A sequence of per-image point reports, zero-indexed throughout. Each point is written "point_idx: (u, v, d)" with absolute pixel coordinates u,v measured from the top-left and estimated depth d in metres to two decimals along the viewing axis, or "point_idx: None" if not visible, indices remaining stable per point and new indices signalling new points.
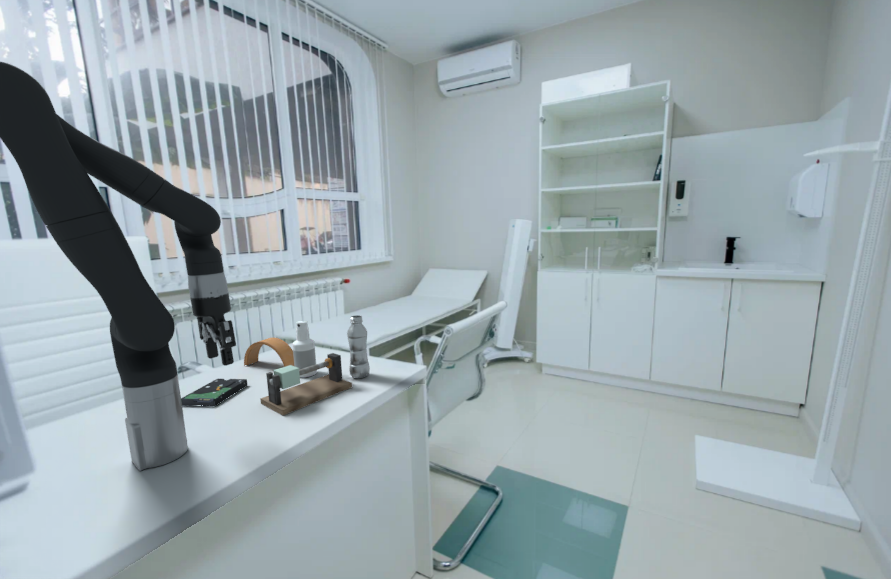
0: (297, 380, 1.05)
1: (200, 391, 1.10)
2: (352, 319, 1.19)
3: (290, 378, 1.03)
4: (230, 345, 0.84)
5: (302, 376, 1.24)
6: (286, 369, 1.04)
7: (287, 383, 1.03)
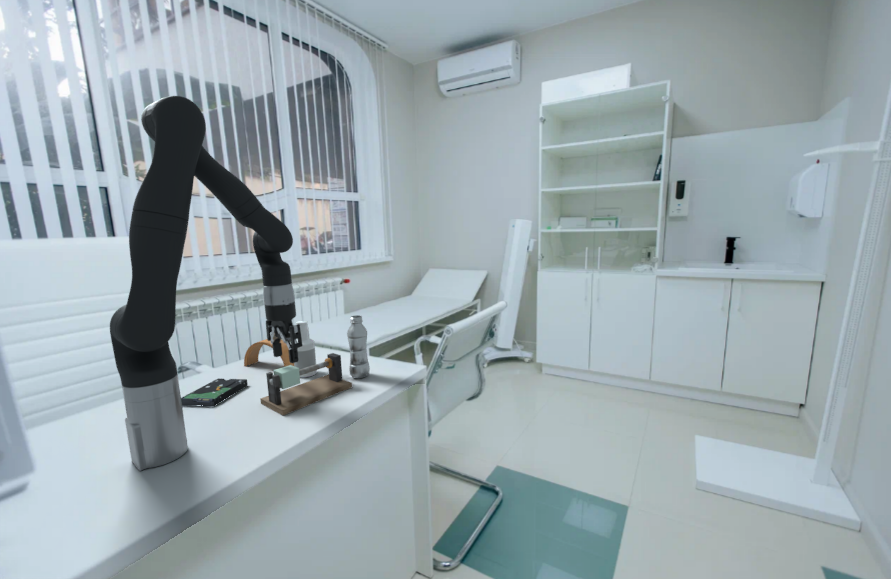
0: (297, 380, 1.05)
1: (200, 391, 1.10)
2: (352, 319, 1.19)
3: (290, 378, 1.03)
4: (298, 346, 0.99)
5: (302, 376, 1.24)
6: (286, 369, 1.04)
7: (287, 383, 1.03)
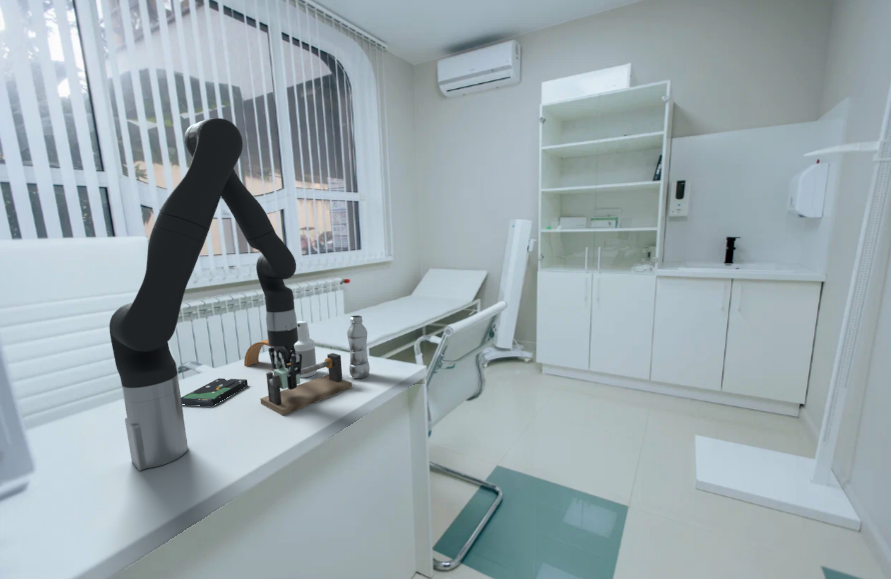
0: (297, 380, 1.05)
1: (200, 391, 1.11)
2: (352, 319, 1.19)
3: None
4: (296, 373, 1.01)
5: (302, 376, 1.24)
6: None
7: (287, 383, 1.03)
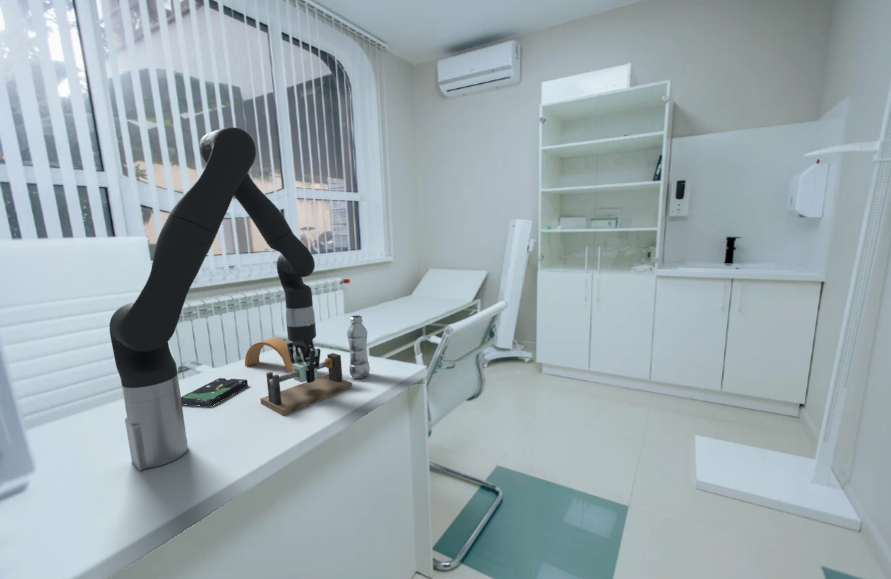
0: None
1: (200, 390, 1.11)
2: (352, 319, 1.19)
3: None
4: (315, 367, 1.05)
5: None
6: None
7: None
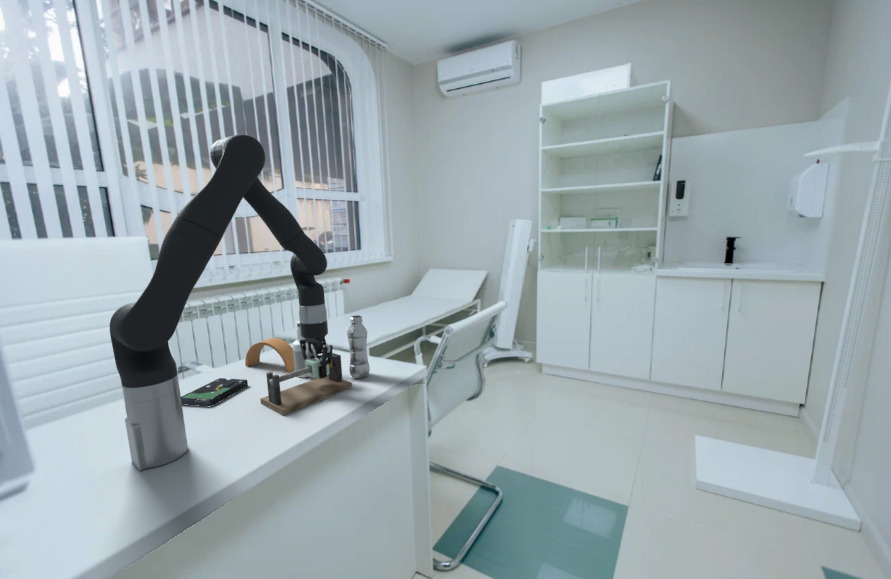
0: None
1: (199, 390, 1.11)
2: (352, 319, 1.19)
3: None
4: (327, 363, 1.08)
5: (302, 376, 1.24)
6: (316, 360, 1.11)
7: (318, 372, 1.10)
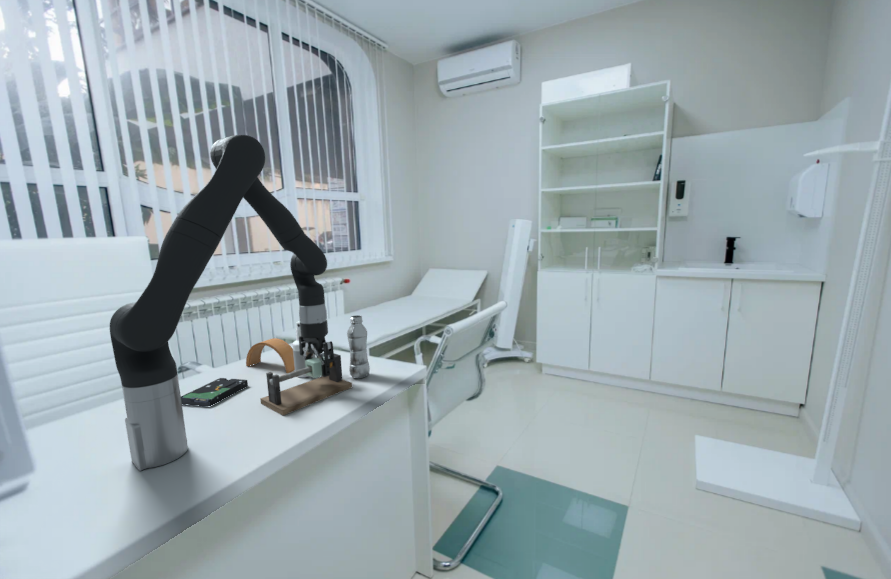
0: None
1: (199, 390, 1.11)
2: (352, 319, 1.19)
3: (321, 368, 1.11)
4: (330, 361, 1.07)
5: (302, 376, 1.24)
6: (316, 360, 1.11)
7: (318, 372, 1.10)
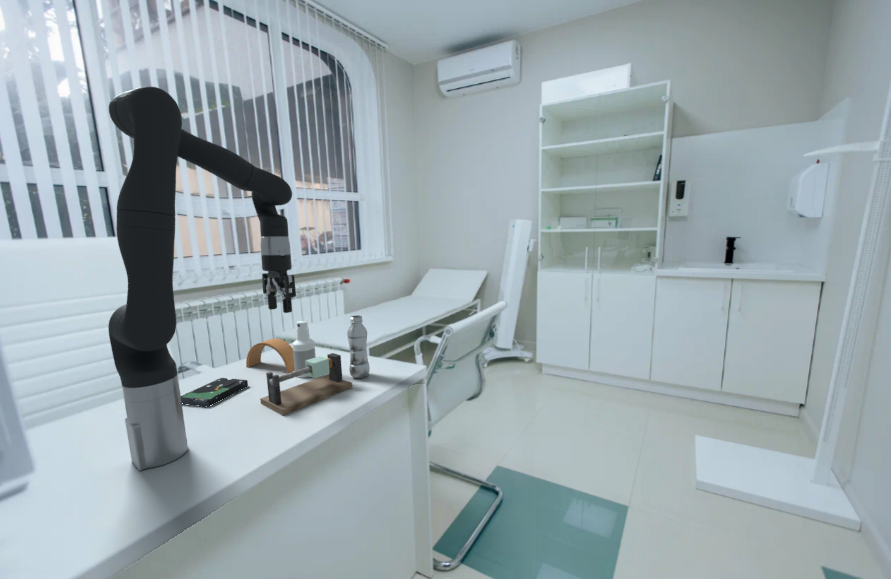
0: (326, 370, 1.12)
1: (199, 390, 1.11)
2: (352, 319, 1.19)
3: (321, 368, 1.11)
4: (291, 295, 1.02)
5: (302, 376, 1.24)
6: (316, 360, 1.11)
7: (318, 372, 1.10)
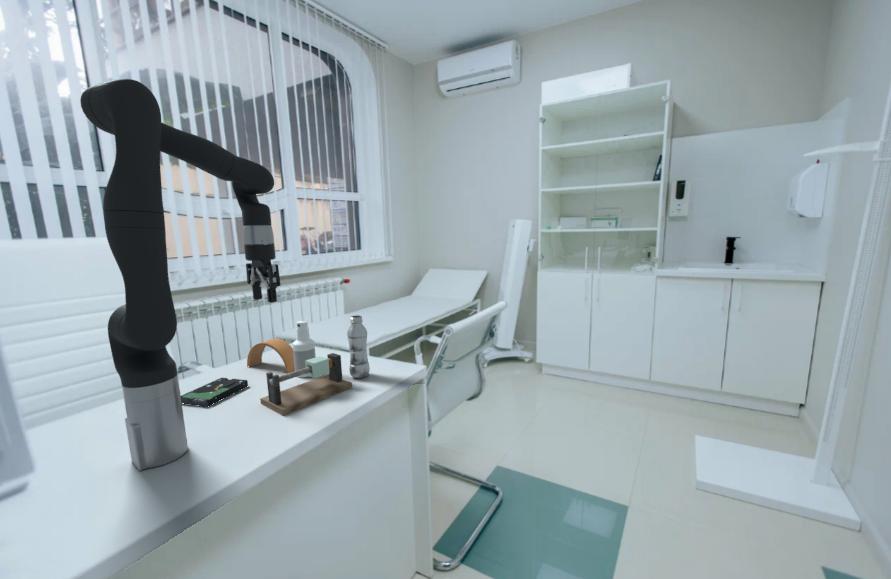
0: (326, 370, 1.12)
1: (199, 390, 1.11)
2: (352, 319, 1.19)
3: (321, 368, 1.11)
4: (276, 284, 1.02)
5: (302, 376, 1.24)
6: (316, 360, 1.11)
7: (318, 372, 1.10)
